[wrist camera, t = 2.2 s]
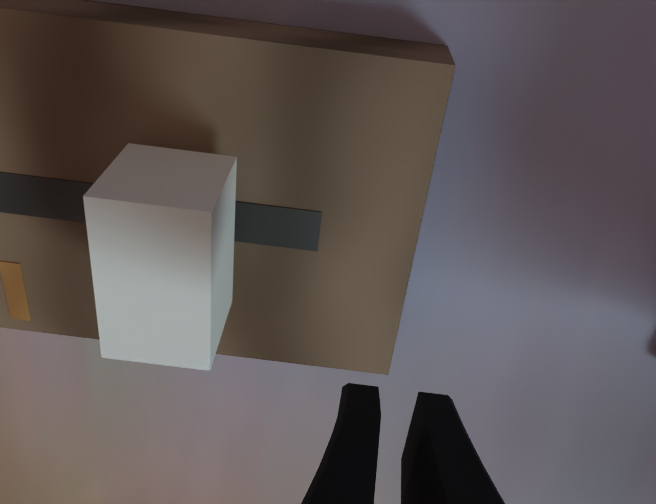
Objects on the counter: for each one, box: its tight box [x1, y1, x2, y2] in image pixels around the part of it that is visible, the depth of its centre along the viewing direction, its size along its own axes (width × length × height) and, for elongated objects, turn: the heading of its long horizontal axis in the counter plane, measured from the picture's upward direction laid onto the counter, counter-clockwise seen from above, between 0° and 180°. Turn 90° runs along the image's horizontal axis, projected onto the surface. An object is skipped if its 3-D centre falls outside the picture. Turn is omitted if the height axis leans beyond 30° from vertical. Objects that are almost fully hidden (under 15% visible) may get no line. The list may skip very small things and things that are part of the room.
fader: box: [83, 143, 237, 371], centre depth 17 cm, size 3×5×4 cm, turn 174°
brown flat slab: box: [0, 0, 455, 375], centre depth 20 cm, size 20×11×2 cm, turn 84°
